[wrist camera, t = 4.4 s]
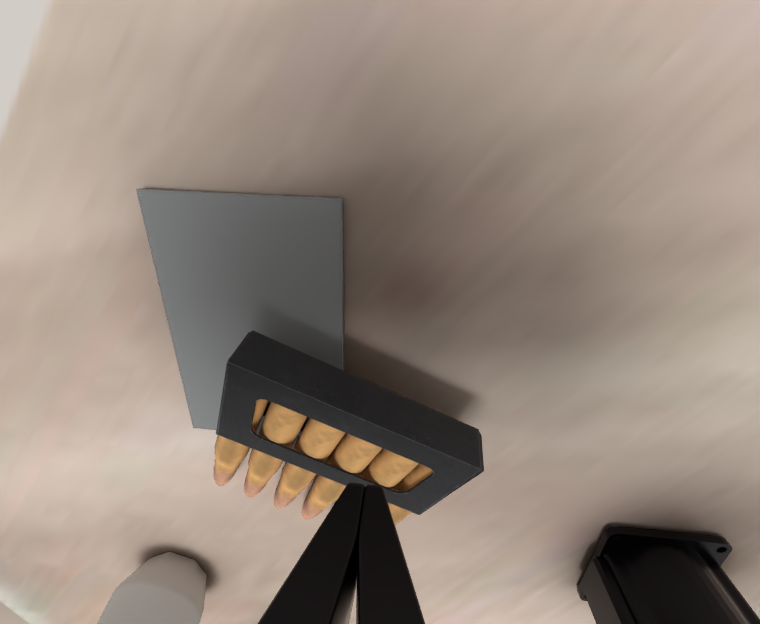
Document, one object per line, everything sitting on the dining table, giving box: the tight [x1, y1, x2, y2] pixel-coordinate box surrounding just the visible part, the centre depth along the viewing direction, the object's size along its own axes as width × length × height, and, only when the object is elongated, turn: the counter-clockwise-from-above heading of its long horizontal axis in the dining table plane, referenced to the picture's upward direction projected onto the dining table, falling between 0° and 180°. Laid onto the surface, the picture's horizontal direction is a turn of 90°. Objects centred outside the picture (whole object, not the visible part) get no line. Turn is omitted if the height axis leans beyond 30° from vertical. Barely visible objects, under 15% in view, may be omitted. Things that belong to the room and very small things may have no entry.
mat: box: [136, 188, 344, 437], centre depth 16 cm, size 8×12×1 cm, turn 178°
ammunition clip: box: [214, 330, 484, 525], centre depth 17 cm, size 11×2×12 cm
